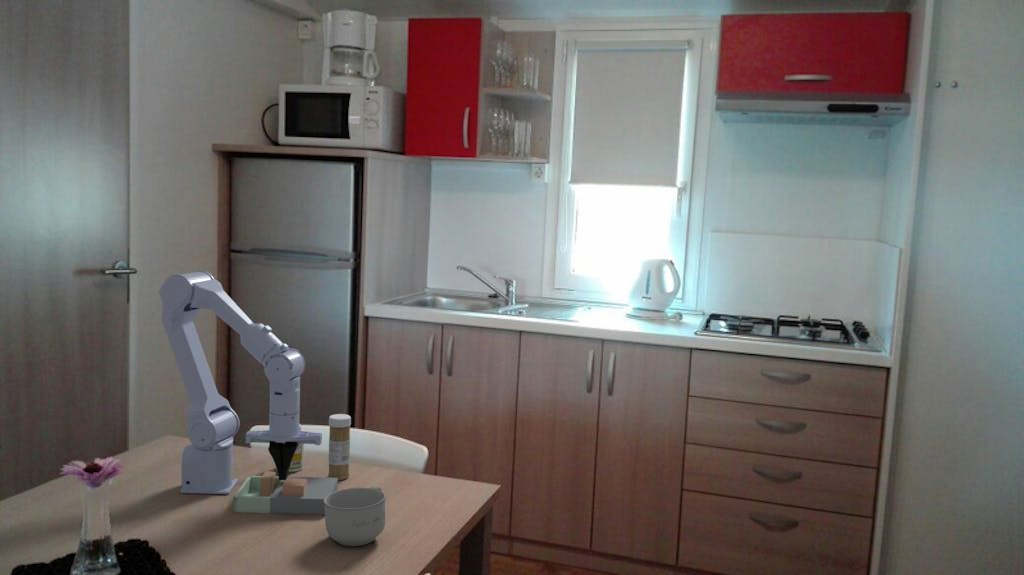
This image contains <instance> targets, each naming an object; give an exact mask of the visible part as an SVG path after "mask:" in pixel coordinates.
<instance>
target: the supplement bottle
mask: <svg viewBox="0 0 1024 575" xmlns="http://www.w3.org/2000/svg"><path fill="white" fill-rule="evenodd" d="M299 431H302V424H301V423H299ZM304 460H305V444H299V445H298V447H297V449H296V451H295V453H294V456H293V458H292V461H291V464H290V467H289V472H288V473H294V472H299V471H301V470H303V469H304V466H305V465H304V462H305V461H304Z"/></svg>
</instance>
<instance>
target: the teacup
mask: <svg viewBox="0 0 1024 575" xmlns="http://www.w3.org/2000/svg"><path fill="white" fill-rule="evenodd" d="M386 499H387V496H386V494H385V492H384V491H383V489H382V487H381V486H378V485H372V486H370V487H349V488H343V489H338V491H335V492H332V493H330V494H328V495H327V496H326V497H325V498H324V504H325V514H324V519H325V520H324V521H325V522H324V523H325V528H326V531H327V532H326V533H327V534H328V536H329V537H330V538H331V539H332V540H334V541H336V543H338V544H340V545H342V546H345V547H359V546H365V545H367V544H370V543H372V542H373V541H375V540H376V538H377V537H378V536H379V535H381V533H382V532H383V531H384V529H385V525H386Z"/></svg>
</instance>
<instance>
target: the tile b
mask: <svg viewBox="0 0 1024 575" xmlns="http://www.w3.org/2000/svg"><path fill="white" fill-rule="evenodd" d="M306 490H307V479H288V478H287V479H286V480H285V482H284V484H283V486H282V496H304V494H305V492H306Z"/></svg>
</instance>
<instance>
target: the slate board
mask: <svg viewBox="0 0 1024 575" xmlns="http://www.w3.org/2000/svg"><path fill="white" fill-rule="evenodd" d="M287 478H288V479H307V490H306V492H305V494H304V496H282V486H283V484H284V482H285V480H281V481H280V482H279V484H278V486H277V487H276V489H275V491H274V492H273V494H272V496H271V497H270V513H269V514H282V515H283V514H285V515H286V514H287V515H288V514H291V515H294V514H295V515H296V514H297V515H325V504H324V498H325V497H326V496H327V495H328V494H330V493H332V492H335V491H338V490H339V489H338V487H339V486H338V484H339V480H338V478H329V477H317V476H315V477H314V476H313V477H312V476H311V477H310V476H288V477H287Z"/></svg>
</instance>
